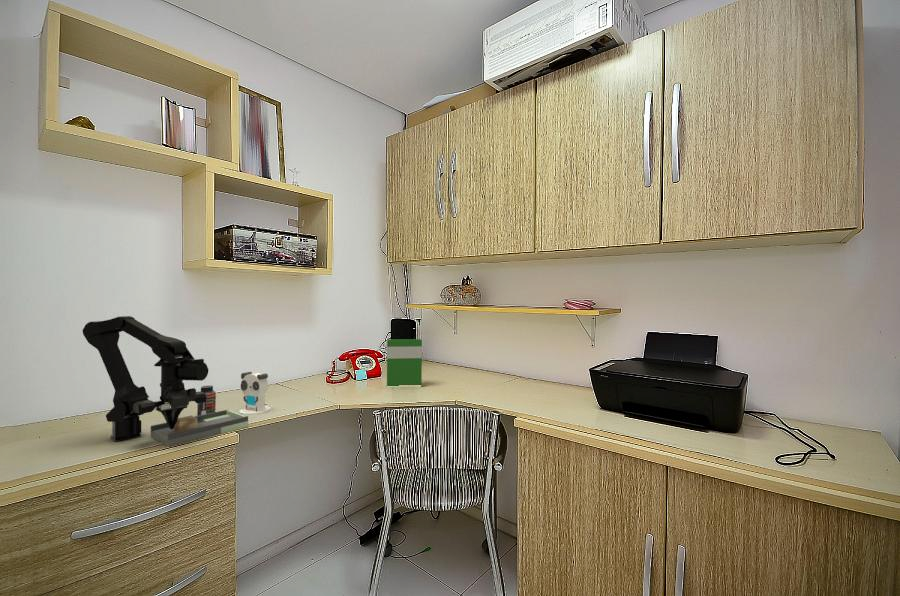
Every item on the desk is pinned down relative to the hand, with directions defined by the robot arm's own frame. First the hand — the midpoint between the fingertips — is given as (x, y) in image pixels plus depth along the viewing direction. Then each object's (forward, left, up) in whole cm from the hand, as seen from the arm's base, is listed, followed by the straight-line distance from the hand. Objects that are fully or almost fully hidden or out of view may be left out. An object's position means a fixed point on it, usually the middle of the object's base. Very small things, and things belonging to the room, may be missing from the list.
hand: (171, 428), depth 127 cm
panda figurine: (+33, +11, -3) cm, 35 cm away
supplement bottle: (+18, +18, -3) cm, 26 cm away
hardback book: (+103, -6, -3) cm, 103 cm away
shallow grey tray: (+9, 0, -3) cm, 9 cm away
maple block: (+4, 0, -1) cm, 4 cm away
